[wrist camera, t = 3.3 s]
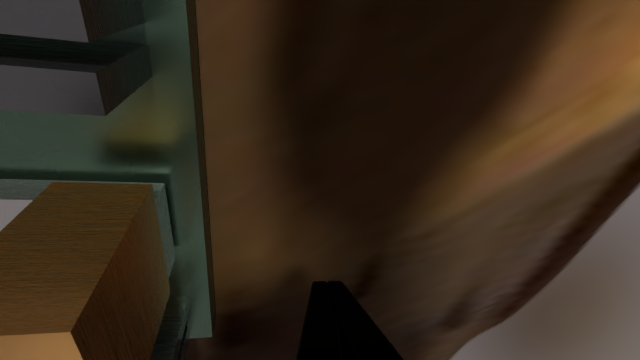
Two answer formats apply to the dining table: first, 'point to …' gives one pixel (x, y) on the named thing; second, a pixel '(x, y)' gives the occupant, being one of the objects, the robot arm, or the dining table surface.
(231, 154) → the dining table surface
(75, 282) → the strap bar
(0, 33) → the green plate fixture
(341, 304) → the robot arm
